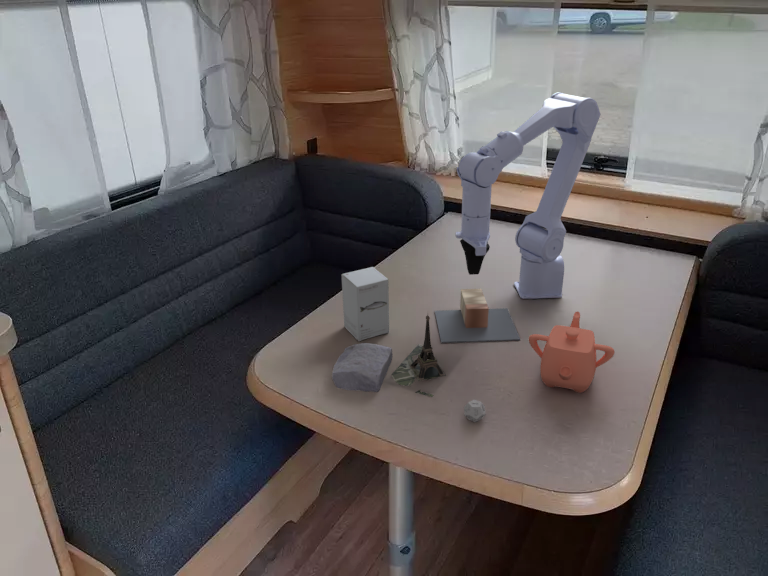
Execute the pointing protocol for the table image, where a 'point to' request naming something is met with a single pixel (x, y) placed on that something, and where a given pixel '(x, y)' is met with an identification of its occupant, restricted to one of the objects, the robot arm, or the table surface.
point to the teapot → (569, 356)
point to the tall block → (474, 308)
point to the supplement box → (365, 303)
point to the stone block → (362, 367)
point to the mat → (456, 330)
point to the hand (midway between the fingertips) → (473, 273)
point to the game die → (474, 410)
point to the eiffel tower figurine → (425, 367)
